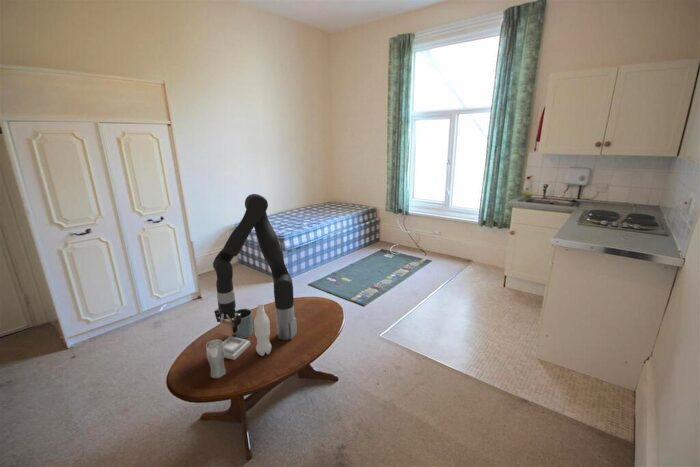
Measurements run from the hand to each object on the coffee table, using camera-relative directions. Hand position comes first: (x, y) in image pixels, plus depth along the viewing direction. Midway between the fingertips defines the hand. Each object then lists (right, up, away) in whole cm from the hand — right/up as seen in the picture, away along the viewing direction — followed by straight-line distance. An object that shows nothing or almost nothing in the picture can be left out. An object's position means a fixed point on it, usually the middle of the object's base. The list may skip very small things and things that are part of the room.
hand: (229, 330), depth 151 cm
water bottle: (+16, -11, +1) cm, 20 cm away
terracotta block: (0, -1, 0) cm, 1 cm away
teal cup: (+1, -6, +16) cm, 17 cm away
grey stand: (0, -10, +3) cm, 10 cm away
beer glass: (0, -15, -13) cm, 20 cm away
